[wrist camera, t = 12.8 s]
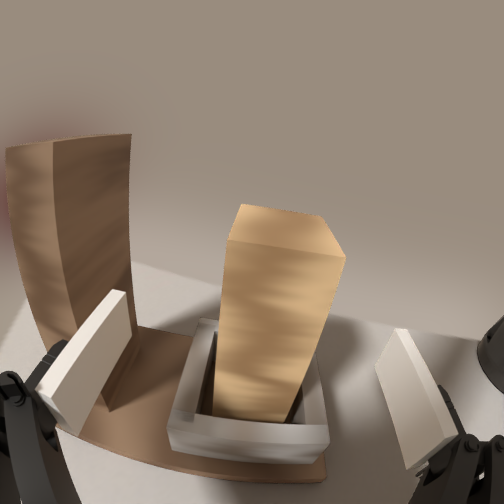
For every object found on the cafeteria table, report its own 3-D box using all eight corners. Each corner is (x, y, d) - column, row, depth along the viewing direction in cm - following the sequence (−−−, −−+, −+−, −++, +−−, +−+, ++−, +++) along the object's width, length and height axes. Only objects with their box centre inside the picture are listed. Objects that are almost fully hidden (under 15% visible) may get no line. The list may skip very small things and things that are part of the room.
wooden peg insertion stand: (306, 359, 27) (363, 162, 19) (320, 482, 14) (495, 217, 6) (114, 327, 27) (101, 133, 19) (55, 426, 14) (-41, 159, 6)
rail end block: (277, 376, 23) (321, 215, 17) (277, 435, 17) (346, 257, 11) (222, 369, 23) (241, 202, 17) (211, 427, 17) (227, 239, 11)
